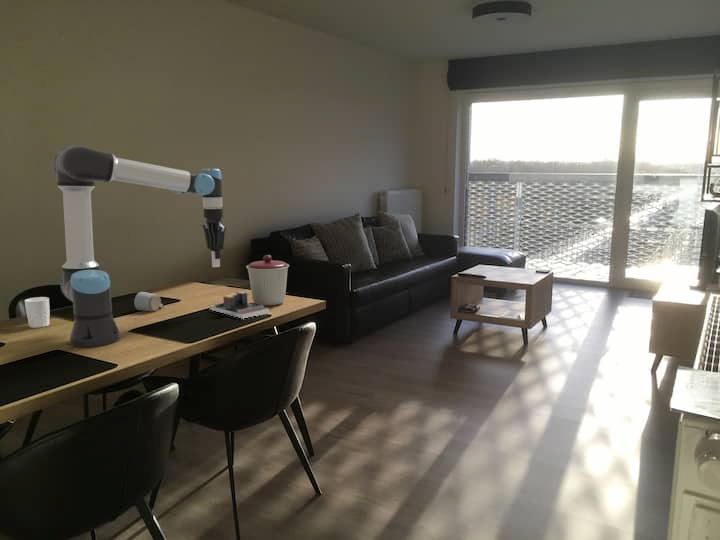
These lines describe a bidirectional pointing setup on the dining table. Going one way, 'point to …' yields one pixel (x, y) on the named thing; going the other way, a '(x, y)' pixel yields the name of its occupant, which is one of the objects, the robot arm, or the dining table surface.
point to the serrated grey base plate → (241, 307)
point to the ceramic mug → (147, 302)
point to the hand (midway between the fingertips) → (216, 266)
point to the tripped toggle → (229, 302)
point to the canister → (268, 281)
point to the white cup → (38, 312)
